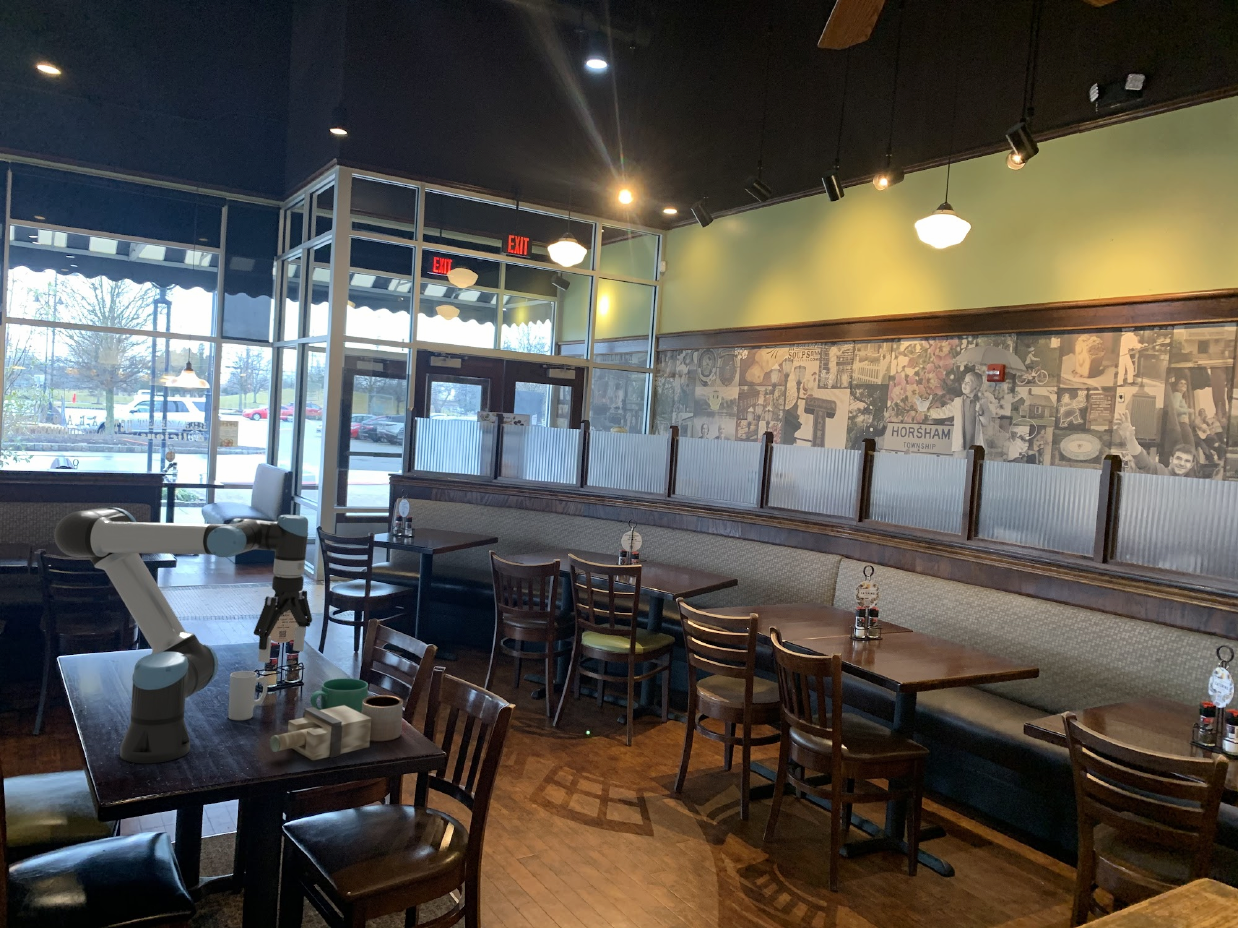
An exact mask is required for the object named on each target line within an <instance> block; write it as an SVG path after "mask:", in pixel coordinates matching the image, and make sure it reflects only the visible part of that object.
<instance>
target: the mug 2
mask: <svg viewBox="0 0 1238 928" xmlns="http://www.w3.org/2000/svg"><path fill="white" fill-rule="evenodd" d="M368 691H369V684H368V682H366V681H364V680H362V679H357V678H349V677H347V678H344V677H343V678H333V679H328V680H326V681H324V682H322V685H321V690H316V691H314V692H313V693H312V694H311V696H310V704H311V706H312V707H314V708H316V709H318V710H323V709H328V708H333V707H338V706H343V705H345V706H347V707H349V708H351V709H353V710H355V711H357V712H359V713H362V702H363V700H364V699H365V698H368V695H369V693H368ZM318 697H320V706H318V703H317V699H318Z"/></svg>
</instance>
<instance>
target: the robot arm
mask: <svg viewBox="0 0 1238 928" xmlns="http://www.w3.org/2000/svg"><path fill="white" fill-rule="evenodd" d="M53 534H54V542H55V544H56V546H57V548H58V549H59V550H60V551H61V552H62V553H64V554H65V555H67V556H70V557H72V558H79V559H81V558H89V560H90V561H91V563H92V565H93V567H94V568H95V569H99V570H103V571H105V573H106V575H107V576H108V578H109V580H110V582H111V584H112V585H113V586H114V588H115V590H116V592H117V594H119V596H120V598H121V600H122V601H123V603H124V604H125V607H126V608H127V610H128V611H129V613H130V614H131V616H132V618H133V620H134V622H135V623H136V624H137V626H138V627H139V629H140V631H141V633H142V635H143V637H144V638H145V640H146V641H147V643H148V644H149V646H150V647H151V653H150V654H147V655H145V656H143V657H141V658H140V659H139V660H137V662H136V663H135V665H134V667H133V668H134V669H133V674H132V677H131V679H132V686H131V687H132V689H131V690H132V691H131V692H132V693H131V706H130V709H131V710H130V720H129V725H128V727H127V731H126V733H125V735H124V737H123V739H122V742H121V744H120V748H119V749H120V751H119V757H120V758H121V759H122V760H124V761H126V762H128V763H129V762H130V763H133V764H135V763H136V764H158V763H164V762H170V761H174V760H176V759H179V758H181V757H184V756H186V755H187V754H188V753H189V752H190V750H191V739H190V735H189V732H188V729H187V725H186V722H185V709H186V706H185V705H186V699H187V698H189V697H191V696H192V695H194V694H195V693H197V692H199V691H202V690H203V689H205V688H206V687H207V686H208V685H209V684H210V683H211V682H212V681H213V680H214V678H216V675H217V674H218V669H219V659H218V655H217V653H216V652H215V650H214V649H213V648H212V647H211V646H209V645H208V644H204V643H202V642H200V641H199V639H198V637H197V635H196V634H195V633H192V632H188V631H186V630H185V628H184V626H183V625H182V624H181V622H180V620H179V618H178V617H177V615H176V614H175V612H174V611H173V608H172V607H171V605H170V603H169V602H168V600H167V598H166V596H165V595H164V594H163V592H162V590H161V589H160V587H159V586H158V583H157V582H156V581H155V578H154V577H153V576H152V574H151V572H150V571H149V568H148V567H147V566H146V564H145V562H144V561H143V559H142V557H141V555H140V554H157V555H158V554H163V555H165V554H167V555H211V556H214V557H215V556H216V557H217V558H232V557H235V556H237V555H240V554H242V553H246V552H249V551H252V550H261V551H271V552H272V551H274V561H273V569H272V570H273V571H272V573H273V574H274V575H273V576H272V582H271V584H272V585H271V589H272V590H273V591H274V596H269V595H267V596H266V597H265V598H264V605H263V608H262V611H261V612H260V615H259V617H258V620H257V623H256V625H255V628H254V630H253V635H255V636H258V637H259V638H258V639H259V640H258V641H259V642H258V649H259V650H258V662H261V663H266V664H268V663H270V657H271V647H272V636H270V635H271V634H272V631H273V630H274V628H275V627H276V625H277V622H278V621H279V619H280V618H281V616H282V615H284V614H285V613H286V612H288V611H289V612H290V613H291V615H292V616H293V619H294V620H295V622H296V624H297V625H295V626H294V635H293V646H292V651H295V652H296V651H297V652H304V647H305V637H306V632H307V631H306V630H307V627H308V628H309V627H310V626H311V623H312V622H313V617H312V614H311V609H310V605H309V601H308V591H307V590H305V589H304V580H305V579H304V576H303V575H304V574H305V567H306V566H305V565H306V555H307V547H308V546H307V545H308V536H309V520H308V518H307V517H305V516H303V515H297V514H281V515H279V516H278V518H277V521H269V520H261V519H251V518H250V517H249V518H248V517H246V518H233V519H232V520H231V521H230V523H227V524H225V523H224V524H222V523H218V524H217V523H213V524H212V523H178V522H177V523H175V522H140V521H139V522H138V521H137V520H136V519H135V517H134V515H132V514H131V513H130V512H129V511H127V510H125V509H122V508H119V507H111V506H102V507H99V508H94V509H87V510H79V511H74V512H71V513H69V514H67V515H65V516H64V517H63V518H62V519H60V520H59V521H58V523H57V524H56V527H55V529H54V533H53Z"/></svg>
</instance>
